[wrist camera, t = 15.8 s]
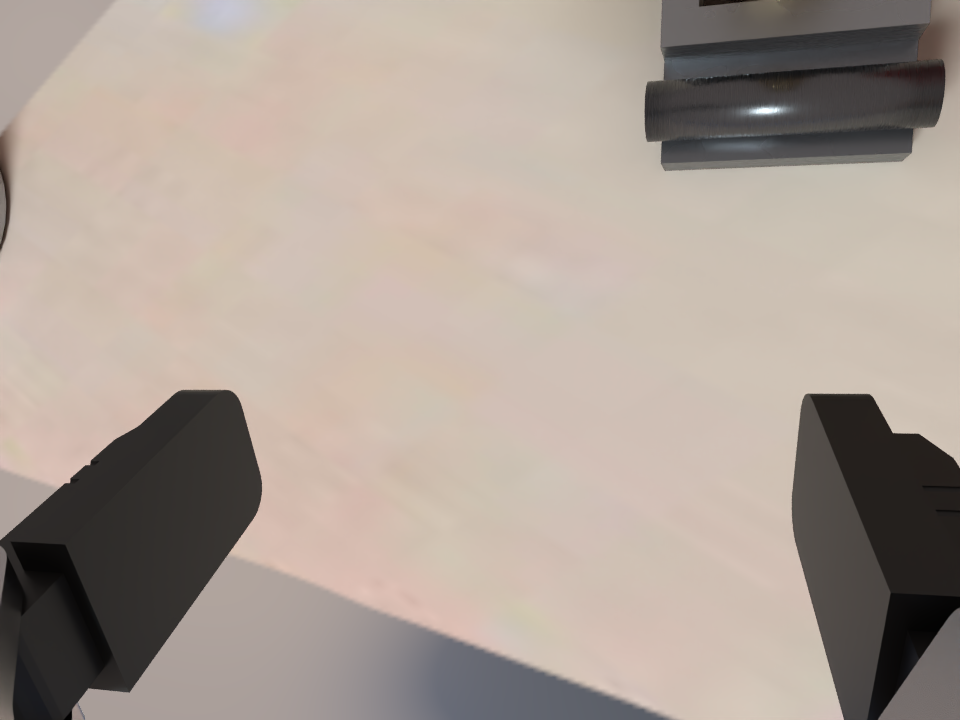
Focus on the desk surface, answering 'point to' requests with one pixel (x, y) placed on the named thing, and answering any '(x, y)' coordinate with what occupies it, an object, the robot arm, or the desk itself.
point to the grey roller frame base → (791, 83)
